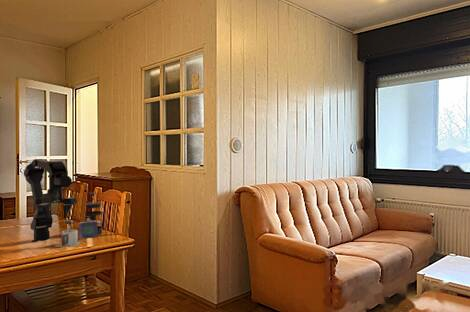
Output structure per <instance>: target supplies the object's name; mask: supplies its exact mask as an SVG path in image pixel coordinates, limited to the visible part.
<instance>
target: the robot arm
mask: <svg viewBox="0 0 470 312" xmlns="http://www.w3.org/2000/svg"><path fill="white" fill-rule="evenodd" d="M45 171H46V172H47V173H48V175H47V178H49V182H48V183H49V185H48V186H49V188H48V189H47V192H46V193H45V194H44V193H43V187H42V180H43V178H44V173H45ZM23 176H24V177H25V181H26V182H27V183H28V184H29V185H30V189H31V193H32V194H31V195H32V198H33V199H32V200H33V205H34V209H35V211H34V214H33V216H32V218H33V219H32V221H31V223H30V230H33V240H31V242H45V241H47V240H49V239H51V236H50V231H51V230H50V229H51V228H53V220H54V219H53V216H52V212H51V211H52V210H51V204H53V203H55V204H57V203H58V204H62V205H61V207H62V208H63V219H64V220H65V219H66V218H67V217H68V214H69V212H70V210H71V208H72V206H74V205H75V204H78V199H77V197H74V196H73V197H65V196H64V195H63V191H64V190H65V188H69V187H70V186H71V185H72V183H73V180H72V178H71V176H69V171H68V169H67V167H66V165H65V163H64V162H63V161H62V160H53V161H50V160H47V159H46V160H45V159H44V158H38V159H37V158H35V159H32V161H31V162H30V163H29V164H27V165H26V166H25V168H24V170H23Z"/></svg>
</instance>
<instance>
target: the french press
mask: <svg viewBox="0 0 470 312" xmlns="http://www.w3.org/2000/svg"><path fill="white" fill-rule="evenodd" d="M88 194H89V195H91V196H92V197H94V196H95V195H97V192H89V193H88ZM83 205H84V206H86V207H87V209H92V211H85V212H84V217H90V220H92V221H93V220H94V221H97V222H98V234H99V235H102V234H103V229H104V228H106V227H107V226H106V223H107V222H106V221H107V220H106V211H100V210H94V209H100V208H101V207H102V202H95V201H92V202H87V203H84V204H83ZM103 214H104V218H103V217H102V215H103ZM97 216H100V220H97ZM103 219H104V226H103ZM99 224H100V226H99ZM101 233H102V234H101Z"/></svg>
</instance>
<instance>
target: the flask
mask: <svg viewBox="0 0 470 312" xmlns="http://www.w3.org/2000/svg"><path fill="white" fill-rule="evenodd" d="M97 221H98V220H96V221H94V220H93V221H92V220H91V219H90V218H89V217H88V218H86V219H85V221H81V222H79V223H78V240H84V239H91V238H97V237H98V236H99V235H98V226H99V224H98V222H97Z"/></svg>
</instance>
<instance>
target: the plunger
mask: <svg viewBox="0 0 470 312" xmlns="http://www.w3.org/2000/svg"><path fill="white" fill-rule="evenodd" d="M64 224H65V225H67V227H68V230H69V231H68V232H74V231H70V230H71V225H72V224H74V220H73V219H72V220H71V219H70V220H65V222H64Z"/></svg>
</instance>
